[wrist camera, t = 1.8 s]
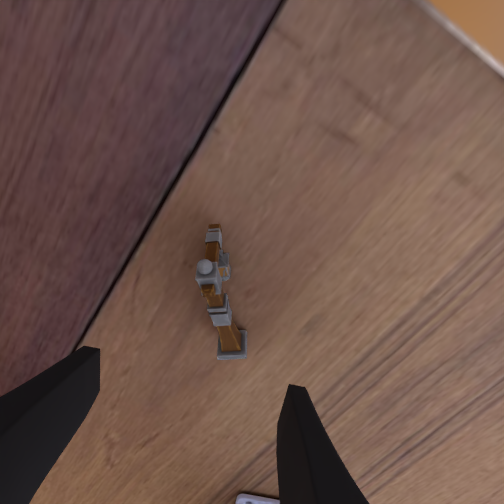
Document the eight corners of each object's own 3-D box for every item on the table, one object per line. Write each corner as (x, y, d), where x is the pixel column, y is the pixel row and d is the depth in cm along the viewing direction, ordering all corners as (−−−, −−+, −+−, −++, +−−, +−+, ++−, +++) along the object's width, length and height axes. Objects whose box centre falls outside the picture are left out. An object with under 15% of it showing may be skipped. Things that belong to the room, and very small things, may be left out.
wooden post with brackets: (228, 209, 17) (221, 274, 13) (248, 300, 22) (246, 361, 19) (194, 212, 17) (179, 277, 14) (222, 302, 22) (217, 363, 19)
